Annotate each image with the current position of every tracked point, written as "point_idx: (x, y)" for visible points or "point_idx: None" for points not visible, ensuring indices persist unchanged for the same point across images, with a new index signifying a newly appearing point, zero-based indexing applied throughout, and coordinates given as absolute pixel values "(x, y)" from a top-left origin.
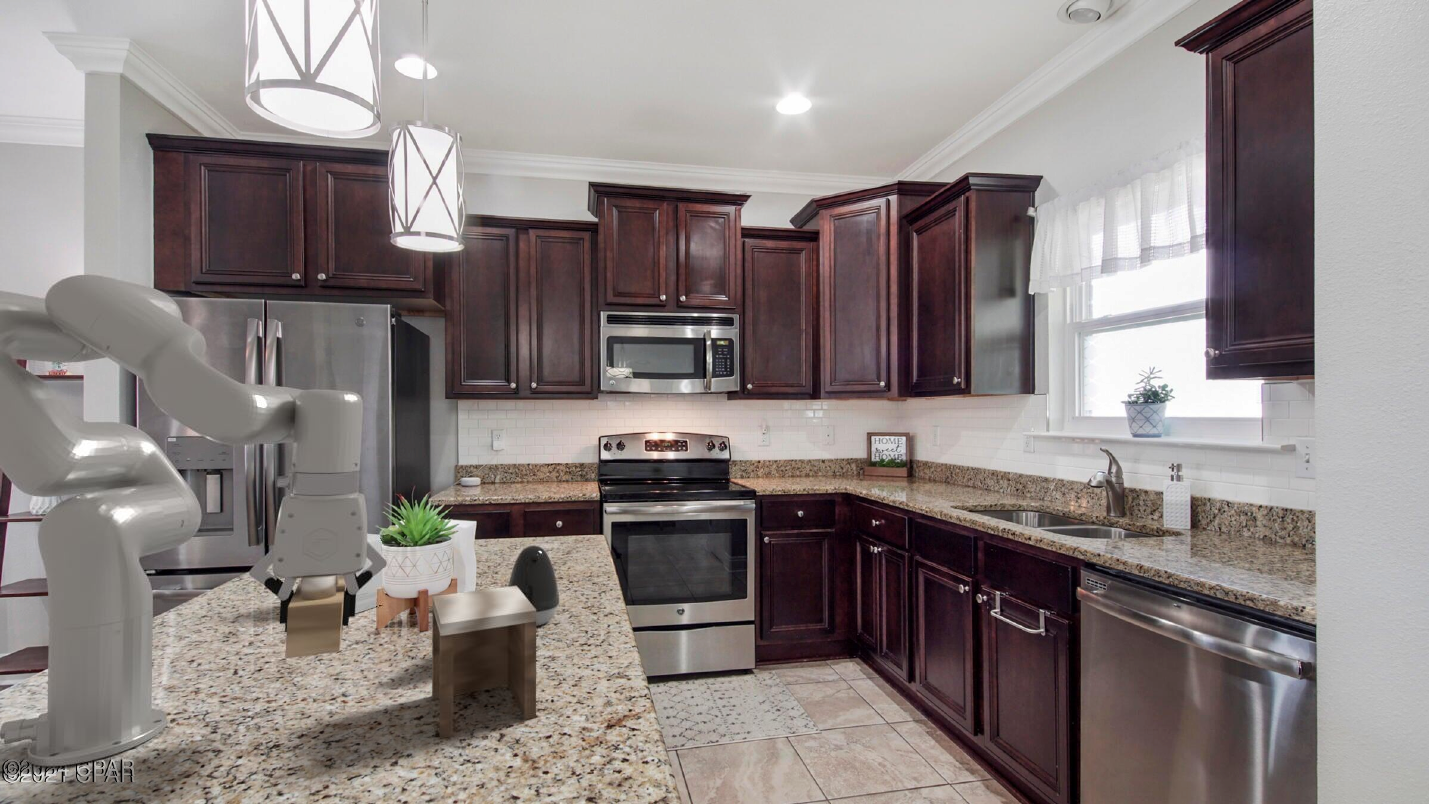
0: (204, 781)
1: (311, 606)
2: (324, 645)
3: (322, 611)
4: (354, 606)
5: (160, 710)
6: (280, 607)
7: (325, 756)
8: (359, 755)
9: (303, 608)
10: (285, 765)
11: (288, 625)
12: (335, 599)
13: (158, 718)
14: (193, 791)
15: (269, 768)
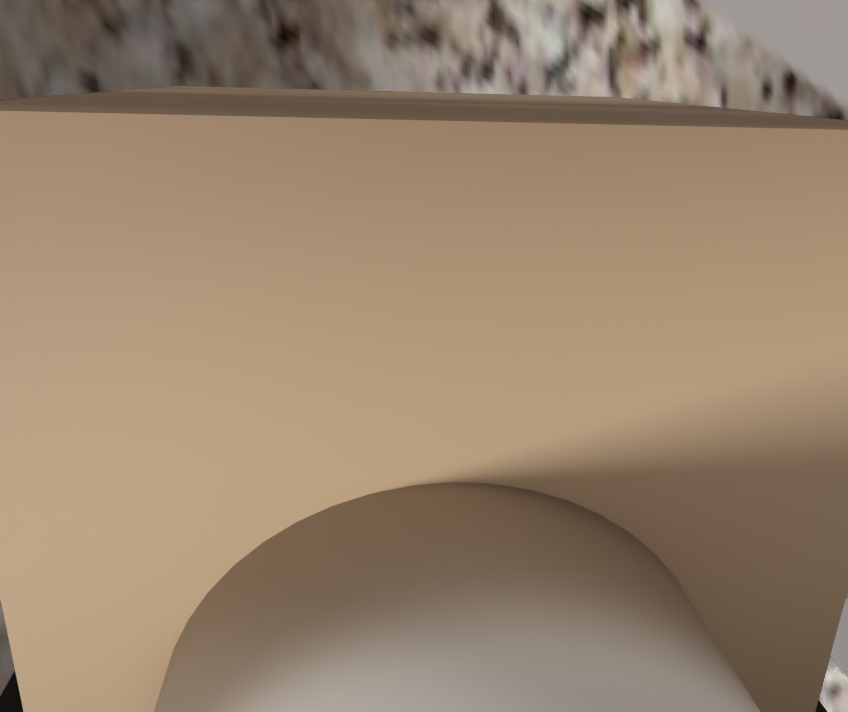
0: (704, 100)
1: (538, 128)
2: (302, 91)
3: (325, 110)
4: (14, 690)
5: (840, 664)
6: (822, 706)
7: (306, 76)
8: (164, 3)
9: (671, 124)
10: (450, 78)
11: (750, 112)
12: (106, 411)
13: (846, 607)
14: (734, 35)
15: (504, 84)
